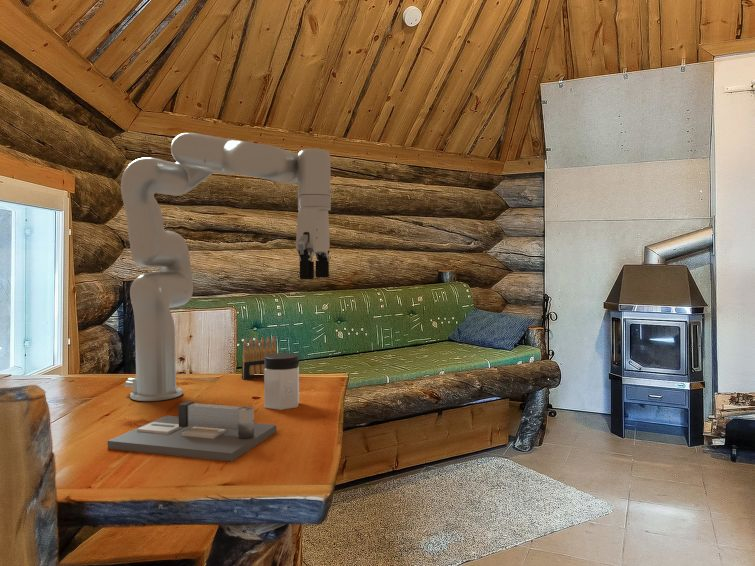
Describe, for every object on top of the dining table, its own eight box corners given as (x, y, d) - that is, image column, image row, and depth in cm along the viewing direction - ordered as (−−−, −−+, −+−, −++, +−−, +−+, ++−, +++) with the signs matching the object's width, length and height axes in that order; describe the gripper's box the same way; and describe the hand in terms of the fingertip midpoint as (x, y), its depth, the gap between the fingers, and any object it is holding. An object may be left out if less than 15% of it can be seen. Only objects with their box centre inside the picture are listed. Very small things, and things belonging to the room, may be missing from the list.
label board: (107, 448, 113) (107, 437, 112) (166, 422, 130) (166, 412, 130) (231, 461, 105) (231, 449, 105) (276, 432, 123) (276, 421, 123)
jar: (271, 411, 138) (271, 360, 138) (258, 404, 145) (257, 355, 144) (306, 406, 143) (306, 356, 143) (291, 399, 150) (291, 351, 149)
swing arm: (178, 432, 117) (178, 404, 117) (187, 427, 120) (186, 400, 119) (249, 438, 113) (249, 410, 112) (256, 433, 116) (256, 406, 115)
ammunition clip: (243, 380, 173) (243, 338, 172) (241, 378, 174) (241, 337, 174) (278, 375, 179) (277, 335, 178) (275, 374, 180) (275, 335, 180)
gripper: (312, 207, 147) (313, 276, 148) (283, 201, 131) (284, 279, 132) (341, 206, 145) (342, 277, 146) (316, 200, 129) (316, 280, 130)
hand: (314, 278), depth 139 cm, fingers open, 9 cm apart
